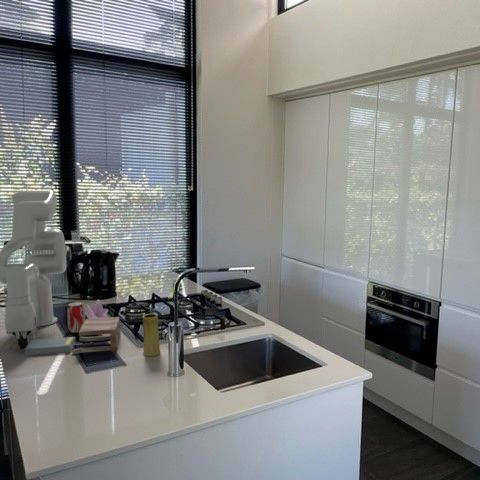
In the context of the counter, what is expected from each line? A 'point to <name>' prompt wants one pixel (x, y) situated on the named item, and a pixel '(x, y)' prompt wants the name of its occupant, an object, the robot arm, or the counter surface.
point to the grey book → (50, 346)
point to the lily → (97, 311)
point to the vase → (151, 335)
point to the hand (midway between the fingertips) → (23, 347)
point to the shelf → (100, 327)
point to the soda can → (75, 316)
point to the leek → (172, 291)
